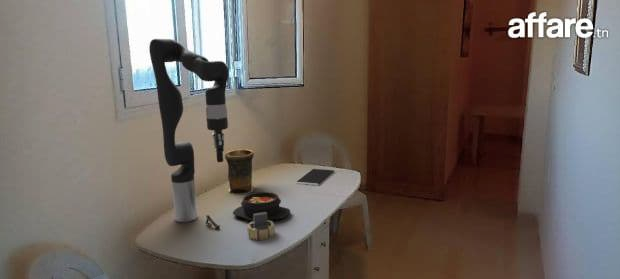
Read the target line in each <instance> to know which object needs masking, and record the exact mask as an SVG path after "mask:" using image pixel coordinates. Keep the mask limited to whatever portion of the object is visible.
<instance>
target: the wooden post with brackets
mask: <svg viewBox="0 0 620 279" xmlns="http://www.w3.org/2000/svg"><path fill="white" fill-rule="evenodd" d="M205 216H206V221H205V224H206V225H207V226H208V227H211V228H212V227H213V226H214V230H218V229H219V230H220V227H221V225H220V224H217V223H216V222H215V221H214V219H212V218H211V216H210V215H209V214H206V215H205Z"/></svg>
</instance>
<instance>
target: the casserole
mask: <svg viewBox="0 0 620 279" xmlns="http://www.w3.org/2000/svg"><path fill="white" fill-rule="evenodd" d="M281 203H282V200H281V199H280V197H279V195H278V194H276V193H274V192H269V191H268V192H267V191H261V192H260V191H259V192H253V193H252V192H251V193H248V194H246V195H245V196H243V198H242V201H241V203H240V205H241V206H239V207H236V208H235V209H234V210H233V211H232V215H233V216H236V217H241V218H243V219H245V220H249V221H253V214H256V213H262V212H266V213H267V220H269V221H270V220H279V219H284V218H286V217H288V216H289V215H290V214H291V209H290V208H288V207H282V206H280V204H281Z"/></svg>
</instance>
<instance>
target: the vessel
mask: <svg viewBox="0 0 620 279" xmlns="http://www.w3.org/2000/svg"><path fill="white" fill-rule="evenodd" d="M254 154H255V153H254V151H252V150H251V149H246V148H245V149H234V150H229V151H227V152H225V154H224V158H225V160H226V163H227V165H228V166H227V167H228V175H227V177H228V179H227V180H228V182H229V183H228V184H229V189H228V193H229V194H232V195H239V196H242V195H249V194H252V192H254V188H253V187H252V184H253V183H252V181H253V180H252V179H253V173H252V172H253V158H254Z"/></svg>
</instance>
